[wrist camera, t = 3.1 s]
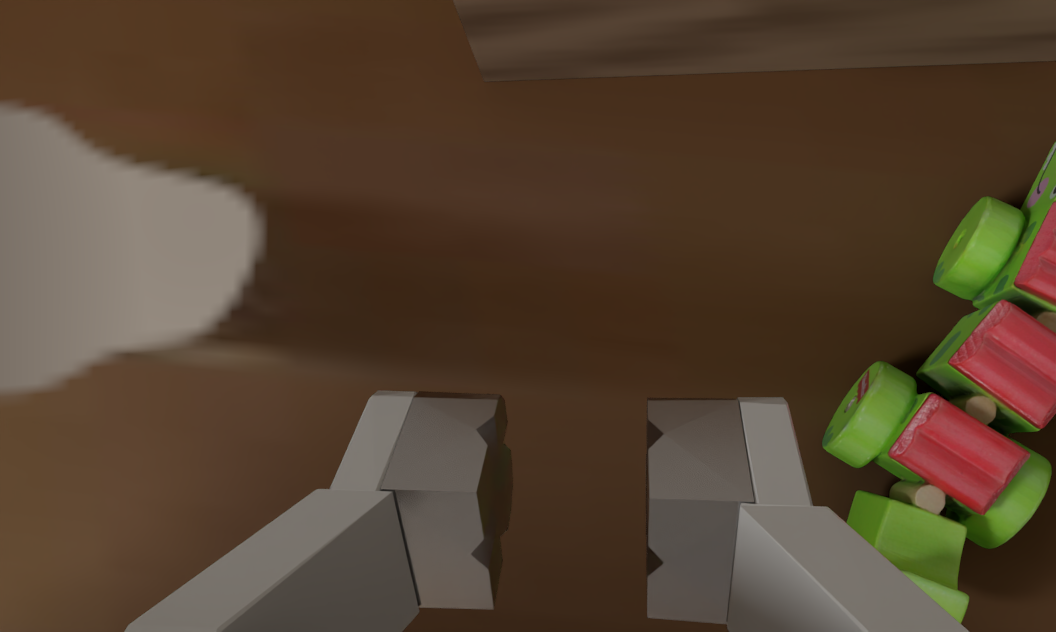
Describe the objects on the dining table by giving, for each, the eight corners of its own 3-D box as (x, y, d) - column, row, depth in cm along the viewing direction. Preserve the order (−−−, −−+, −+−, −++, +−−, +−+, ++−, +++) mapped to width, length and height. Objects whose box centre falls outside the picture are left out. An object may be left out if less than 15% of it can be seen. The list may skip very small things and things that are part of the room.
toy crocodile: (1023, 117, 32) (1111, 36, 26) (1188, 203, 30) (1322, 137, 24) (752, 534, 30) (781, 548, 24) (914, 646, 29) (987, 690, 23)
